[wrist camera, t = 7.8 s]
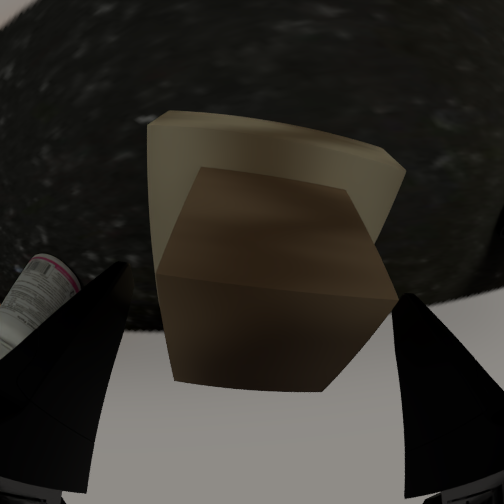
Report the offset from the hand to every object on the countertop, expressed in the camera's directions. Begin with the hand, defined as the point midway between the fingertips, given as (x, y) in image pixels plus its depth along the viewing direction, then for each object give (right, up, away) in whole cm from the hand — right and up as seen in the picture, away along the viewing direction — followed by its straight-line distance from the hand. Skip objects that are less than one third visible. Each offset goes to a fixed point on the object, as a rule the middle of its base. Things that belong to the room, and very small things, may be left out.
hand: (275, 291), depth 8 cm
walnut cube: (0, +2, +2) cm, 3 cm away
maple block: (0, +3, +5) cm, 6 cm away
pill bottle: (-15, 0, +8) cm, 17 cm away
